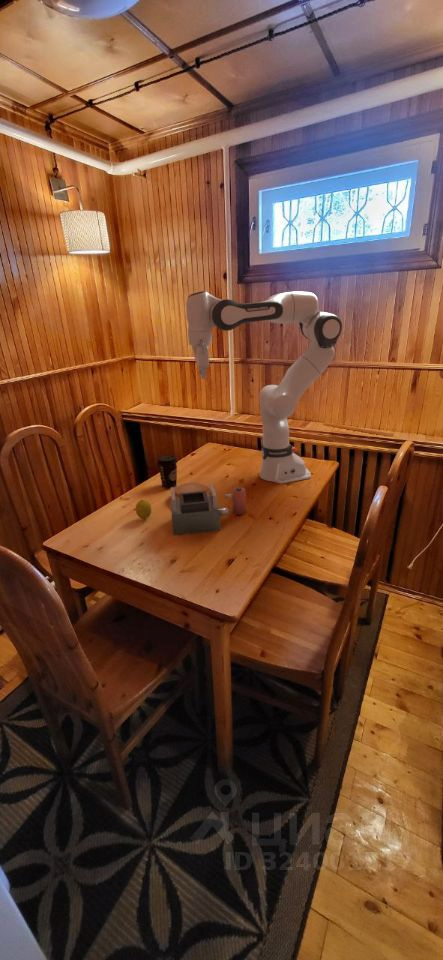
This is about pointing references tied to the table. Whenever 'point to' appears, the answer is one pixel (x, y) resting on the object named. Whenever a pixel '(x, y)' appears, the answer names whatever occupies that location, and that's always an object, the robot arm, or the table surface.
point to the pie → (190, 488)
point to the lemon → (143, 509)
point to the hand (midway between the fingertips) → (202, 376)
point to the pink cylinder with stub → (238, 500)
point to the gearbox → (195, 512)
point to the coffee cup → (168, 471)
